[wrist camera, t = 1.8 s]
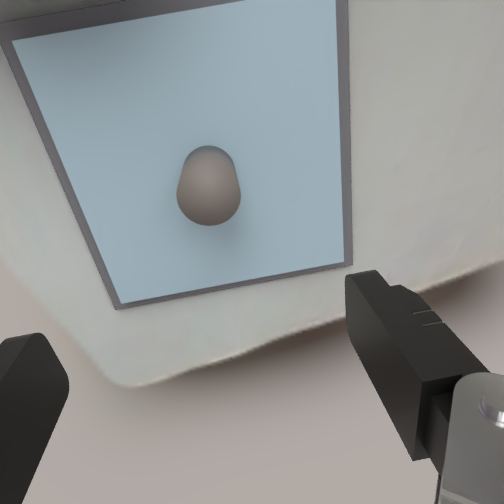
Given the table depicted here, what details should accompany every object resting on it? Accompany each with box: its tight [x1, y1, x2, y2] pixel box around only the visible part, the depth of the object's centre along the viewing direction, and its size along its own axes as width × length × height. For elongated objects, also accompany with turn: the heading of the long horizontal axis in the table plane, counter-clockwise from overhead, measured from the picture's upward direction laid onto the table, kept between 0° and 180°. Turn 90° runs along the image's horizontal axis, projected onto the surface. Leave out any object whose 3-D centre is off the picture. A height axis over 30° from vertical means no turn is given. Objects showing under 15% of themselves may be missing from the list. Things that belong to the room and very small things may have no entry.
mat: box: [0, 0, 353, 310], centre depth 24 cm, size 20×20×1 cm
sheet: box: [12, 0, 344, 304], centre depth 22 cm, size 18×18×6 cm
